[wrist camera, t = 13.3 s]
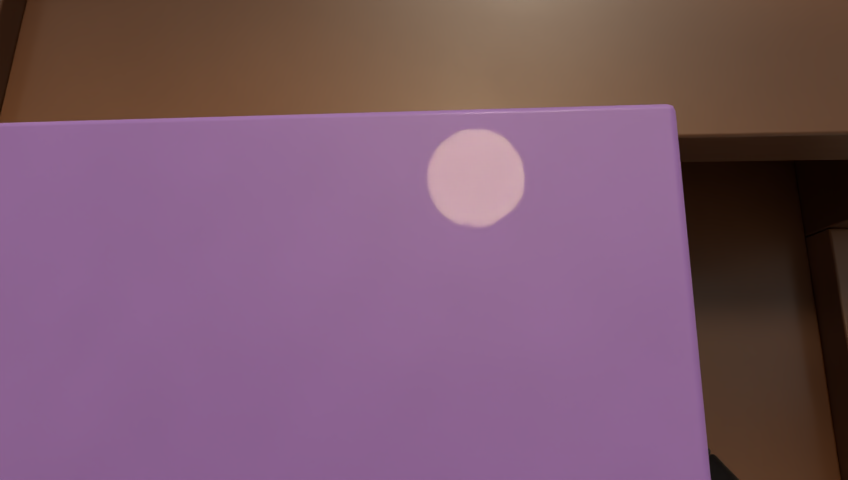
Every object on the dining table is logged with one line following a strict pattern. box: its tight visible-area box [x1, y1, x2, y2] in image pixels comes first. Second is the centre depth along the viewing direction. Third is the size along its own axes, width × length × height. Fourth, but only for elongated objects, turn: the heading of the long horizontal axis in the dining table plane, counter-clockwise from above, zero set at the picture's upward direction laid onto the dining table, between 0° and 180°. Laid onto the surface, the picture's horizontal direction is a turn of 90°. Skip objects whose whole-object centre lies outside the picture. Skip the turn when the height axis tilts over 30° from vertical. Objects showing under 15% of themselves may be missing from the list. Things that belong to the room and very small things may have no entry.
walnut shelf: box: [0, 0, 848, 480], centre depth 14 cm, size 14×21×11 cm, turn 88°
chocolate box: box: [0, 104, 711, 480], centre depth 9 cm, size 4×6×13 cm
